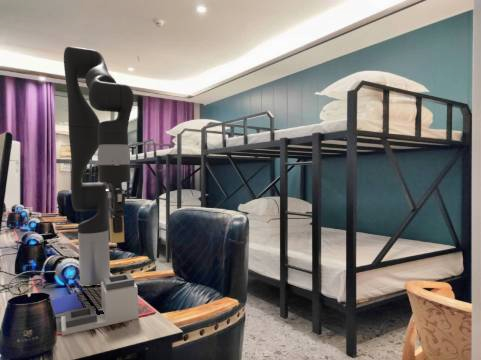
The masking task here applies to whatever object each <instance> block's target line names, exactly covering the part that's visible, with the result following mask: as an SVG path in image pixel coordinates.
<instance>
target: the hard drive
mask: <svg viewBox="0 0 481 360" xmlns="http://www.w3.org/2000/svg"><path fill="white" fill-rule="evenodd" d="M77 294H78V293H71V294H65V295H63V296H62V295H61V296H57V297H53V298H50V299H51V301H52V305H53V308H54V312H55V316H56V318H59V317H60V318H61V317H62V316H65V311H71V310H76V309H81V308H83V306H82V304H81V302H80V301H79V300H78V297H77Z"/></svg>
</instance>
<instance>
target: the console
mask: <svg viewBox="0 0 481 360" xmlns="http://www.w3.org/2000/svg"><path fill="white" fill-rule="evenodd" d="M138 292H139V291H138V286H137V284H136V283H135V278H134V277H133V276H132V274H131V272H128V273H120V274H115V275H114V274H113V275H110V276H107V277H103V282H101V285H100V294H101V295H100V296H101V297H100V298H101V308H102V309H103V312H104V314H100V315H97V314H96V311H95V310H96V308H95V305H93V306H92V305H91V306H88V307H86V308H81V309H76V310H71V311H65V315H63V316H60V319H61V320H60V325H61V326H60V327H61V336H66V335H71V334H76V333H80V332H84V331H89V330H93V329H97V328H102V327H106V326H110V325H116V324H119V323H123V322H124V323H125V322H129V321H134V320H137V319H139V317H140V316H139V298H138V297H139V296H138V295H139V294H138ZM89 314H90V315H89Z"/></svg>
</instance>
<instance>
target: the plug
mask: <svg viewBox="0 0 481 360" xmlns="http://www.w3.org/2000/svg"><path fill="white" fill-rule="evenodd" d="M116 211H120V209H116ZM124 216H125V215H124ZM124 216H123V217H122V223H123V231H122V232H121V233H114V232H113V218H112V210H109V211H108V227H109V243H111V244H117V243H124V242H125V224H124V223H125V222H124V221H125V220H124Z"/></svg>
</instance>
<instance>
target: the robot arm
mask: <svg viewBox="0 0 481 360" xmlns="http://www.w3.org/2000/svg"><path fill="white" fill-rule="evenodd" d="M63 66H64V68H63V69H64V76H65V84H66V85H65V86H66V94H67V113H68V119H67V121H68V139H69V148H70V162H71V165H70V166H71V172H70V173H71V174H70V175H71V177H70V182H71V183H70V185H71V188H70V190H71V193H70V194H71V200H70V201H71V205H72V208H73V210H74V212H89V211H90V212H92V211H93V212H94V211H97V213H96V214H95V215H94V216H93V217H91V218H89V219H87V220H83V221H82V222H80V223H78V225H77V239H78V243H77V244H78V263H79V284H82V285H91V286H92V285H97V284H101V282H103V277H107V276H111V265H110V262H111V261H110V260H111V259H110V234H109V210H112V218H113V232H114V233H121V232H122V231H123V223H122V217H123V216H125V213H126V212H125V208H126V192H125V189H123V183H127V182H128V183H129V182H130V181H131V159H130V157H131V156H130V148H129V134H128V133H129V132H128V131H129V123H130V119H131V118H130V117H131V113H132V109H133V107H134V106H133V105H134V102H135V96H134V92H133V90H132V88H131V86H129V85H127V84H122V83H117V81H116V80H115V78H114V77H113V76H112V75H111V73H109V70H108V67H107V64H106V62H105V59H104V57H103V55H102V54H101V52H99V51H98V50H96V49H90V48H85V47H78V46H66V47H65V48H64V51H63ZM78 79H79V80H80V79H81V80H85V83H86V84H85V85H86V87H87V89H88V101H89V103H88V101H87V99H86V98H85V96H84V94H83V92H82V90H81V88H80V84H79V80H78ZM93 109H94V110H93ZM95 110H96V111H99V112H112V113H113V112H114V113H117V116H116V118H115V119H110V120H103V121H101V120H100V119H99V116H98V115H97V114H96V112H95ZM96 152H97V168H98V169H97V171H98V173H97V174H98V181H97V182H95V181H94V182H83V176H84V174H85V171H86V169H87V167H88V165H89V163H90V162H91V160H92V158H93V156H95V154H96ZM107 184H108V186H107ZM116 209H120V211H116ZM123 218H124V217H123Z"/></svg>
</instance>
